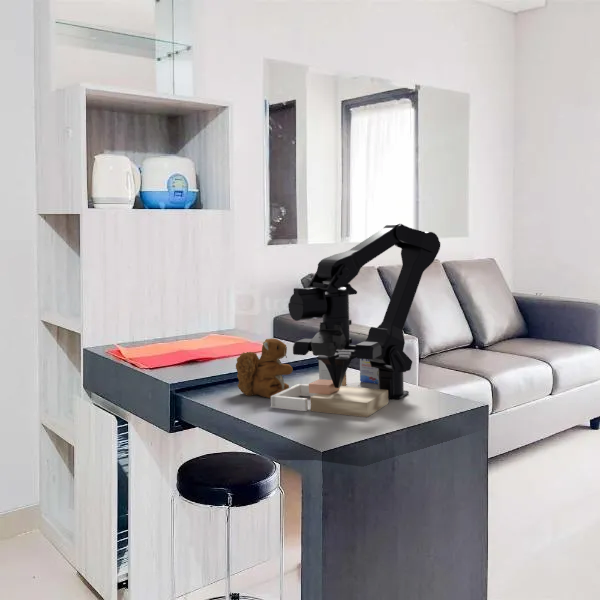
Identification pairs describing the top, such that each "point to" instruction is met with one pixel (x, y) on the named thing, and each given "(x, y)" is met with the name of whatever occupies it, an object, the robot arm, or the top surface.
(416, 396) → the top surface
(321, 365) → the small box
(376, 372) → the medicine box
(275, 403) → the box
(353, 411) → the plate
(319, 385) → the tile
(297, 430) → the top surface
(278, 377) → the stuffed squirrel
